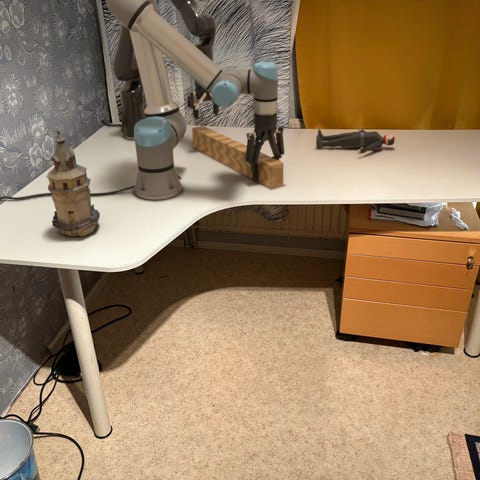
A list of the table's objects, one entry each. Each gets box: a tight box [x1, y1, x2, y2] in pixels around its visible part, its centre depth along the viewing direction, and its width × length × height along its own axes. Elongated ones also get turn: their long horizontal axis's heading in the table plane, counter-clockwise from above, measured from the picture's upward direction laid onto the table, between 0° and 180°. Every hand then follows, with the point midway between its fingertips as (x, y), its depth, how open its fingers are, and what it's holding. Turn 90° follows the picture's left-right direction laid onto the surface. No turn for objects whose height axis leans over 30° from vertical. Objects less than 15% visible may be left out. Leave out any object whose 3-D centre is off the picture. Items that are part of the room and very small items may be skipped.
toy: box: [315, 128, 396, 155], centre depth 211 cm, size 26×6×30 cm
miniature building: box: [46, 129, 101, 237], centre depth 148 cm, size 13×14×30 cm
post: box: [191, 125, 284, 190], centre depth 196 cm, size 51×5×8 cm, turn 35°
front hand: (264, 178), depth 184 cm, fingers open, 8 cm apart
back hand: (206, 116), depth 204 cm, fingers open, 8 cm apart
